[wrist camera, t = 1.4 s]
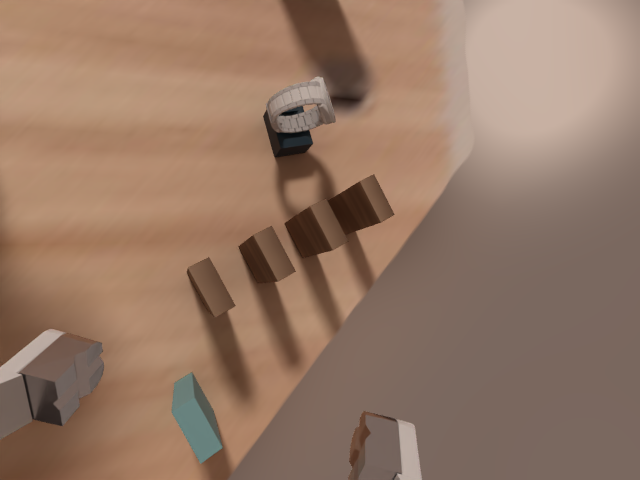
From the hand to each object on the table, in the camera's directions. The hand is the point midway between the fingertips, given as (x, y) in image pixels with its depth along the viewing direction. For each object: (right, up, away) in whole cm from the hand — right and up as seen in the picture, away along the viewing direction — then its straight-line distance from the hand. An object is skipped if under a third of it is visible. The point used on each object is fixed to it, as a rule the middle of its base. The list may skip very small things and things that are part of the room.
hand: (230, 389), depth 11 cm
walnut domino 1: (-10, -1, +30) cm, 32 cm away
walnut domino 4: (+5, +8, +37) cm, 39 cm away
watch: (-2, +18, +36) cm, 41 cm away
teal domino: (-11, -13, +28) cm, 33 cm away
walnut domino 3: (0, +5, +35) cm, 35 cm away
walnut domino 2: (-5, +2, +33) cm, 33 cm away
